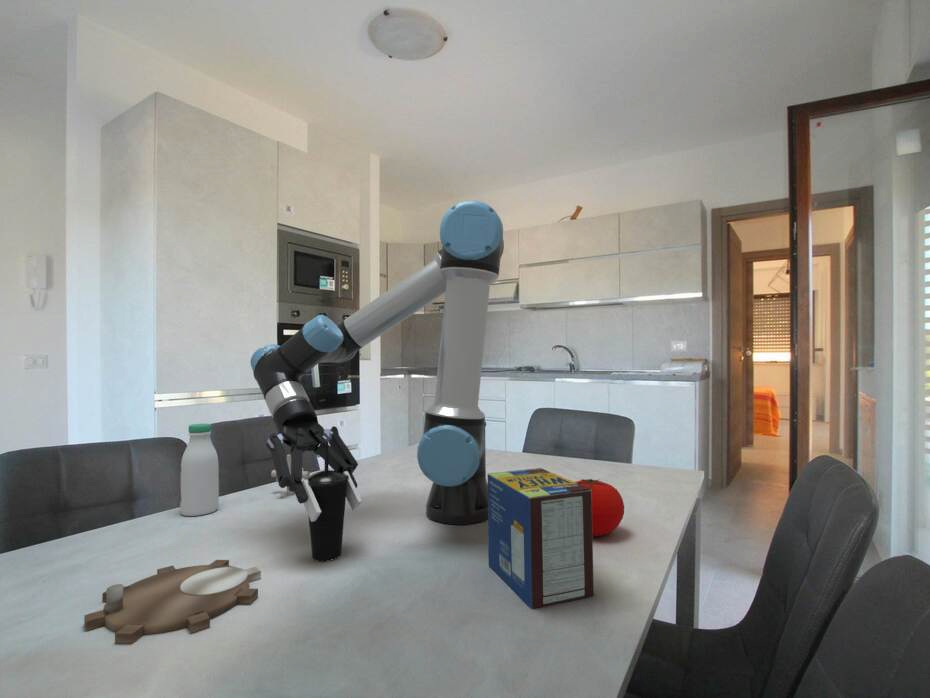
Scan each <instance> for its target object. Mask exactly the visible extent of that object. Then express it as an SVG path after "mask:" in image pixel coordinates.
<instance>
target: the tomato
mask: <svg viewBox="0 0 930 698" xmlns="http://www.w3.org/2000/svg"><path fill="white" fill-rule="evenodd" d="M600 480H601V481H600ZM574 482H575V483H578V484H580V485H583V486H586V487H588V488H590V489H591V490H592V537H599V536H600V537H601V536H604V535H606V534H610V533H612V532H614V531H615V530H616V529H617V528H618V527H619V525H620V523H621V521H622V520H623V518H624V514H625V503H624V499H623V497H622V495H621V493H620V492H619V490H618V489H617V488H615V487H614V486H613V485H611V484H609V483H608V482H607V483H606V482H603V481H602V479H600V478H599V479H593V478H592V479H591V478H589V479H587V478H586V479H583V478H581V479H579V480H578V481H574Z"/></svg>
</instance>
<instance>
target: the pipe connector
mask: <svg viewBox="0 0 930 698" xmlns="http://www.w3.org/2000/svg"><path fill="white" fill-rule="evenodd" d="M286 459H287V463H288V467H289V471H290V475H291V457H290V454H287V455H286ZM270 474H271V475H270V476H271V477H272V478H276V479H275V480H276V483H278V479H277V475H276V470H275V469H273V470H271V473H270ZM309 476H311V472H310V471H307V470H306V471H305V469H304V468H303V467H302V479H305V478H307V477H309ZM292 494H293V495H295V493H294V492H291V491H290V490H289V487H286V495H287V496H292Z"/></svg>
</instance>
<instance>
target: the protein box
mask: <svg viewBox="0 0 930 698" xmlns="http://www.w3.org/2000/svg"><path fill="white" fill-rule="evenodd" d="M575 482H576V481H573V480H570V479H567V478H566V477H563V476H561V475H558V474H556V473H554V472H551V471H549V470H547V469H544V468H541V467H538V468H536V467H535V468H529V469H518V470H507V471H499V472H496V471H495V472H488V473H487V484H488V520H487V527H488V528H487V529H488V530H487V536H488V537H487V539H488V543H487V544H488V545H487V547H488V549H487V550H488V552H487V553H488V567H489V568H491V570H492V571H494V573H495V574H496V575H497V576H498V577H500V578H501V580H502V581H503V582H504V583H505V584H506V585H507V586H508V587H509V588H510V589H511V590H512V591H513V592H514V593H515V595H517V596H518V597H519V598H520V599H521V600H522V602H523V603H524V604H526V606H528V607H529V609H536V608H542V607H546V606H547V607H548V606H552V605H555V604H560V603H565V602H570V601H574V600H579V599H584V598H589V597H593V596H594V594H595V592H594V591H595V590H594V589H595V586H594V554H593V553H594V551H593V549H594V547H593V546H594V545H593V544H594V543H593V536H592V490H591V489H590V488H588V487H586V486H583V485H580V484H578V483H575Z"/></svg>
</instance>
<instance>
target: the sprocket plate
mask: <svg viewBox="0 0 930 698" xmlns="http://www.w3.org/2000/svg"><path fill="white" fill-rule="evenodd" d="M156 571H157V572H156V573H157V574H154V575H150V576H148V577H145V578H142V579H140V580H137V581H135V582H132V583H131V584H128V585H126V586H125V585H124V584H122V583H118V584H112V585H110V586H108V587H107V588H106V591H103V592H102V595H101V596H102V602H103V603H105V604H104V606H103V608H102V610H98V611H94V612H91V613H88V614H84V616H83V617H84V619H83V621H84V622H83V624H84V630H85V632H87V631H91V630H94V629H97V628H101V627H106V628H107V629H108V630H109V631H112V632H115V633H114V644H126V645H127V644H128V645H129V644H134V643H135V642H137V641H138V640H139V639H140V638H141V637H142V636H144V635H154V634H160V633H161V634H162V633H167V632H173V631H177V630H181V629H185V628H187V630H188V631H189V633H190V634H193V633H197V632H199V631H202V630H206V629H208V628H210V627H211V619H214V618H216V617H218V616H221V615H222V614H224V613H226V612H227V611H229V610H231V609H232V608H234V607H235V606H237V605H248V606H249V605H252V604H253V602H255V600H257V598H258V597H259V588H250V583H251V582H254V580H255V581H257V580H260V579H262V571H261V570H260V569H259V568H258V566H253V567H250V568H246V569H243V568H241V567H237V566H232V565H230V559H215V560H214V561H212V562H211V563H209V564H202V565H192V566H186V567H180V568H176V567H175V566H174V565H169V566H165V567H162V568H157V569H156Z"/></svg>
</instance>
